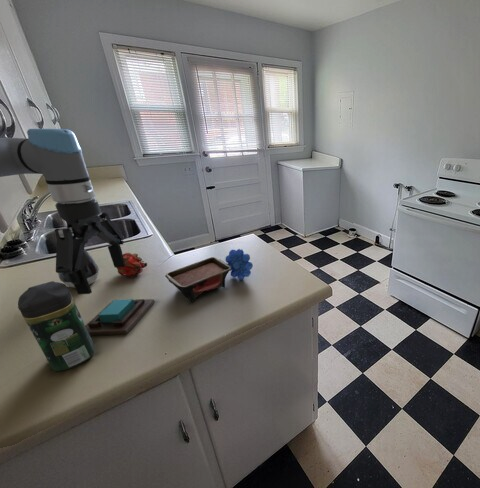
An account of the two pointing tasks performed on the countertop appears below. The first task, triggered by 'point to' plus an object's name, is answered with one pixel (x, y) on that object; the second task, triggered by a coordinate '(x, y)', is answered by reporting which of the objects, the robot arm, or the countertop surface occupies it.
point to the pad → (116, 310)
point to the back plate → (120, 325)
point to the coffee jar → (56, 325)
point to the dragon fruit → (131, 265)
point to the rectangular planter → (199, 277)
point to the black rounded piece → (86, 265)
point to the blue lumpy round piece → (239, 263)
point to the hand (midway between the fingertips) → (104, 278)
